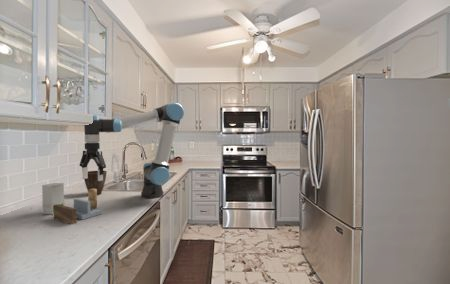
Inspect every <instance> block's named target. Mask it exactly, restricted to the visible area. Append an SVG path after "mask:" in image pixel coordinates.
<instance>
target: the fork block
mask: <svg viewBox="0 0 450 284" xmlns="http://www.w3.org/2000/svg"><path fill="white" fill-rule="evenodd" d="M73 208H76V219H79V220H85V219H88V218H92V217H95V216H98V215H102V210H101V209H98V208H96V209H92V210H91V208H90V201H88V200H84V199H79V198H75V199H73Z"/></svg>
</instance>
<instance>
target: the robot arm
mask: <svg viewBox="0 0 450 284" xmlns="http://www.w3.org/2000/svg"><path fill="white" fill-rule="evenodd" d="M184 116H185V109H184V107H183V106H182V105H181V103H178V102H170V103H167V104H164V105H162V106H160V107H156V108H153V110H149V111H145V112H140V113H136V114H131V115H127V116H122V117H116V118H112V119H103V118H102V119H101V118H100V116H99V115H96V114H93V123H92V124H89V125H84V124H83V125H84V150H82V155H81V159H80V162H79V167H81V169H82V170H81V172H82V180H84V179H87V178H88V171H89V170H88V169H89V167H88V165H89V163H90V161H91V160H93V161H94V163H95V165H96V166H97V171H98V181H102V180H103V171H104V169H106V168H107V165H106V162H105V159H104V156H103V151H101V150H100V143H99V142H100V133H121V132H122V130H124V129H129V128H133V127H137V126H141V125H145V124H150V123H155V122H156V123H162V128H161V132H160V136H159V141H158V145H157V150H156V153H155V157H154V159H153V160H152V161H151V162H148V163H147V162H146V163H144V164H143V167H142V169H143V186H142V190H141V192H140V197H141V198H144V199H157V198H162V197H163V196H164V195H165V194H164V193H165V192H164V190H163V186H162V185H165V184H166V183H167V182H168V181H169V179H170V164H169V160H170V156H171V151H172V148H173V142H174V138H175V133H176V130H177V128H178V126H180V123H181V120H182V119H183V118H184ZM99 150H100V151H99Z"/></svg>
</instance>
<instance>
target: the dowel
mask: <svg viewBox="0 0 450 284" xmlns="http://www.w3.org/2000/svg"><path fill="white" fill-rule="evenodd" d="M87 196H88V197H87V198H88V199H87V201H90V208H91V211H93V210H97V209H98V195H97V189H89V190H87Z"/></svg>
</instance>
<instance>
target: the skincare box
mask: <svg viewBox="0 0 450 284" xmlns="http://www.w3.org/2000/svg"><path fill="white" fill-rule="evenodd" d="M41 187H42V188H41V190H42V191H41V192H42V194H41V196H42V214H43V215H54V205H56V204H59V205H63V206H65V193H64V192H65V191H64V188H65V184H64V183H63V182H53V183H47V184H42V186H41Z"/></svg>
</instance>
